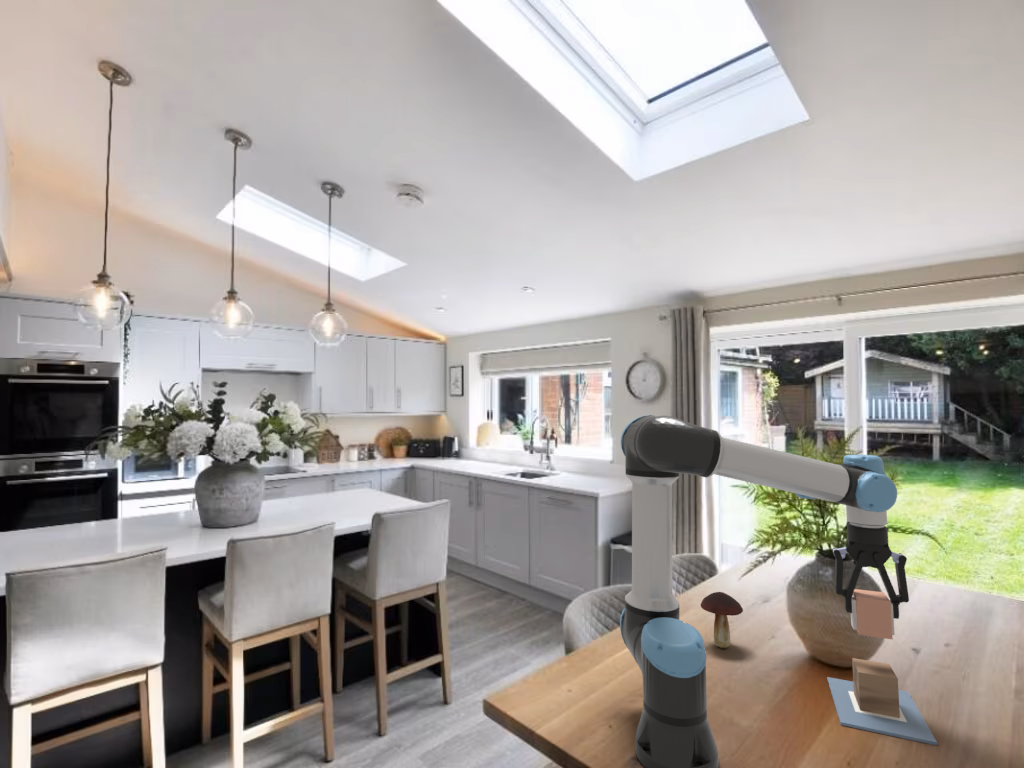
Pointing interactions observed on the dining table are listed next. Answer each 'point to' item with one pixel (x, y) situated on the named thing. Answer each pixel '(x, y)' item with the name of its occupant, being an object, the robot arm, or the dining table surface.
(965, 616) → the dining table surface
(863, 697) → the walnut block
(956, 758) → the dining table surface
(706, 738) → the robot arm
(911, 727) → the board
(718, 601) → the decorative mushroom
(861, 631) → the terracotta block
